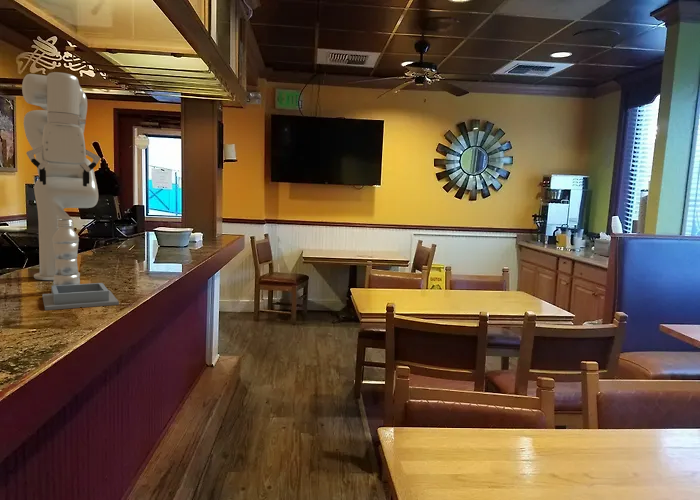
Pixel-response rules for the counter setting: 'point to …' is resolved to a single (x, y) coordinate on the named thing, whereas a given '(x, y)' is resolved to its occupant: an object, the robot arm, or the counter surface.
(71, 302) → the blue-grey square tray
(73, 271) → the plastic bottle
